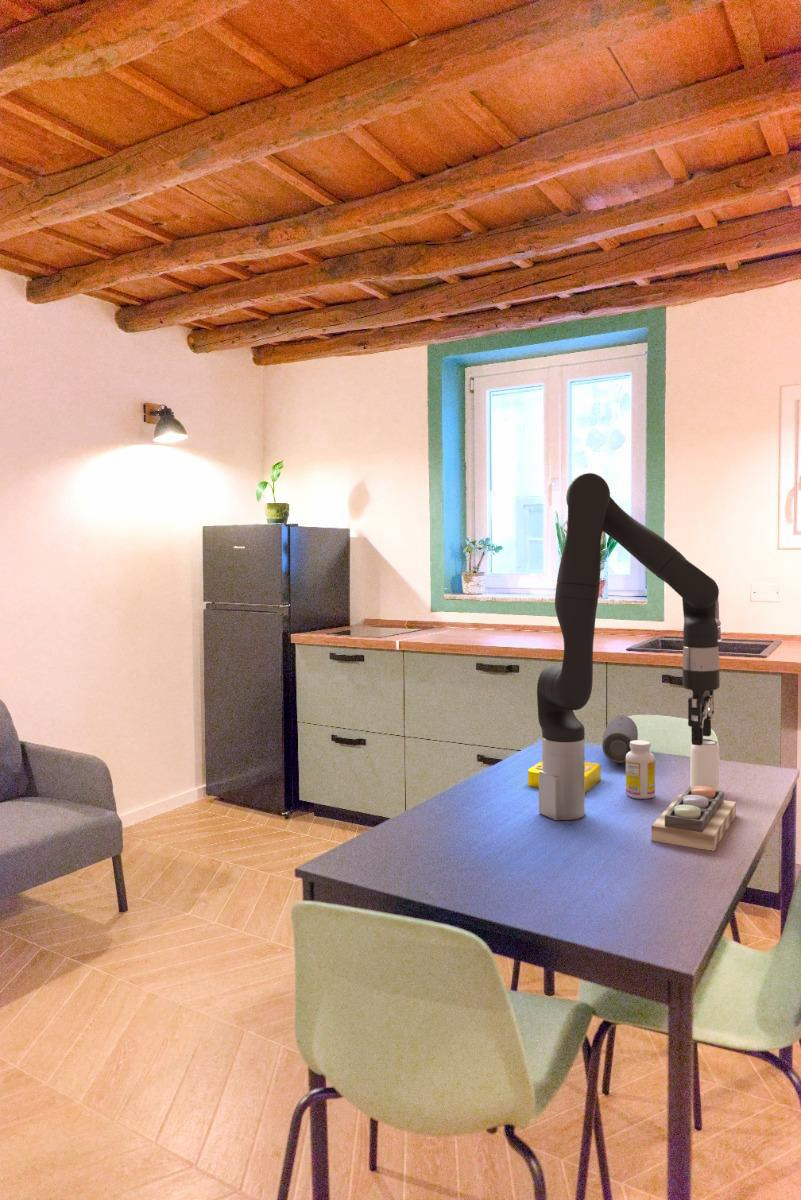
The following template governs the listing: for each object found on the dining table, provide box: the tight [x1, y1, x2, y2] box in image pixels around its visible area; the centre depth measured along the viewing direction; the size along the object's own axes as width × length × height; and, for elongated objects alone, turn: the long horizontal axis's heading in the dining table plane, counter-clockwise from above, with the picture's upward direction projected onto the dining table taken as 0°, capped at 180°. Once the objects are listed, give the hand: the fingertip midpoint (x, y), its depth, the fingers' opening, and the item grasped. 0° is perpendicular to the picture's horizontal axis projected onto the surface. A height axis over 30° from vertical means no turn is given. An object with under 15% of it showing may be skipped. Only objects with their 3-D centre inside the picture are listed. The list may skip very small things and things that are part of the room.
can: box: [689, 738, 720, 791], centre depth 198 cm, size 6×6×12 cm
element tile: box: [527, 760, 602, 793], centre depth 207 cm, size 15×15×5 cm
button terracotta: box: [691, 786, 715, 799], centre depth 179 cm, size 5×5×2 cm
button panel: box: [650, 786, 737, 852], centre depth 173 cm, size 24×12×5 cm, turn 148°
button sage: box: [674, 805, 701, 820], centre depth 166 cm, size 5×5×2 cm
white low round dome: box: [683, 795, 708, 809], centre depth 173 cm, size 5×5×2 cm
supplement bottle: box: [625, 739, 656, 800], centre depth 195 cm, size 7×7×13 cm
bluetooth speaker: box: [601, 715, 639, 764], centre depth 230 cm, size 23×9×10 cm, turn 162°
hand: (701, 740), depth 179 cm, fingers open, 8 cm apart
